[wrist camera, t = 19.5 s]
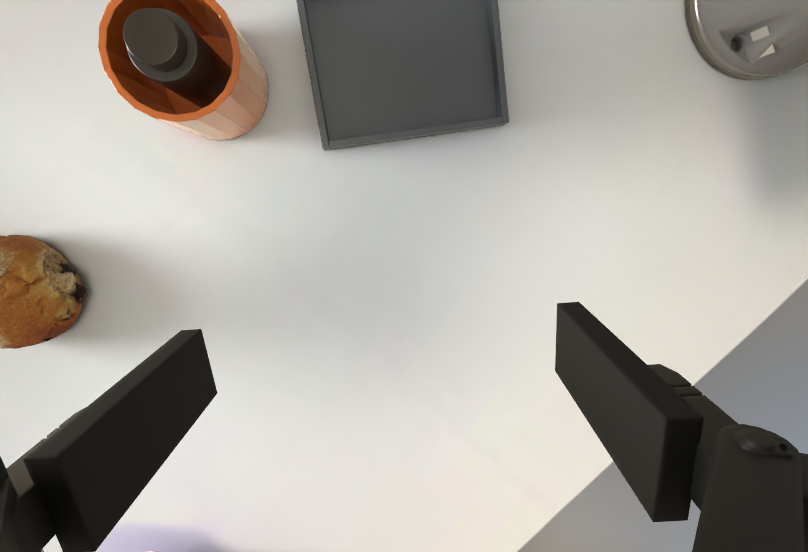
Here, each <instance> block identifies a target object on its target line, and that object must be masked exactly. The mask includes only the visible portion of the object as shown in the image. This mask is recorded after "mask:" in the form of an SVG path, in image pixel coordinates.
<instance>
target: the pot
mask: <svg viewBox="0 0 808 552" xmlns="http://www.w3.org/2000/svg"><path fill="white" fill-rule="evenodd" d="M143 8H163V9H167V10H170V11H172V12H174V13H176V14H178V15H179V16H181V17H182V18H183V19H184V20H185V21H186V22H187V23H188V24H189V25H190V26H191V27H192V28H193V29H194V30H195V31H196V32H197V33H198V34H199V35H200V36H201V37H202V38H203V39H204V40H205V41H206V42H207V43H208V44H209V45H210V47H211V48H212V49H213V50H214V51H215V52H216V53H217V54H218V55H219V56H220V57H221V58H222V59H223V60H224V61H225V62H226V63H227V64H228V65H229V66H230V67H231V68H232V71H231V75H230V78H229V80H228V82H227V84H226V87H225V89H224V91H223V92H222V93H221V94H220V95H219V96H218V97H217V98H216V99H215V101H214V102H213V103H212V104H210V105H208V106H206V107H204V108H200V107H199V106H197V105H195V104H193V103H192V102H190V101H188V100H187V99H185V98H183V97H182V96H180V95H178V94H176V93H175V92H173V91H171V90H170V89H168V88H166V87H164V86H163V85H161V84H159V83H158V82H156V81H154V80H153V79H151V78H149V77H147V76H146V75H144V74H143V73H142V72H141V71H139V70H138V69H137V68H136V66H135V65H134V64H133V62H132V61H131V59H130V57H129V55H128V52H127V48H126V44H125V41H124V37H123V28H124V24H125V21H126V20H127V18H128V17H129V16H130V15H131V14H132V13H133V12H134V11H136V10H139V9H143ZM98 48H99V52H100V56H101V60H102V64H103V67H104V70H105V73H106V74H107V76H108V78H109V79H110V81H111V83H112V84H113V86H114V88H115V89H116V91H117V92H118V93H119V94H120V95H121V96H122V97H123V98H124V99H125V100H126V101H127V102H129V103H130V104H131V105H132V106H133V107H134V108H136V109H137V110H139V111H141V112H143V113H145V114H147V115H149V116H151V117H153V118H155V119H158V120H160V121H163V122H165V123H168V124H170V125H173V126H175V127H178V128H180V129H182V130H185V131H187V132H190V133H192V134H195V135H197V136H200V137H204V138H207V139H213V140H229V139H233V138H236V137H239V136H241V135H243V134H245V133H247V132H248V131H250V130H251V129H252V128H253V127H254V126H255V125H256V124H257V123H258V122H259V120H260V119H261V117H262V115H263V113H264V111H265V108H266V105H267V100H268V83H267V78H266V74H265V71H264V69H263V67H262V65H261V63H260V61H259V59H258V58H257V56H256V54H255V53H254V51H253V50H252V48H251V47H250V46H249V44H248V43H247V41H246V40H245V39H244V37H243V36H242V34H241V33H240V32H239V30H238V29H237V27H236V26H235V25H234V23H233V22H232V20H231V19H230V18H229V16H228V15H227V13H226V12H225V11H224V10H223V8H222V7H221V6H220V5H219V4H218V3H217V2H216V1H215V0H111V1H110V2H109V3H108V5H107V7H106V10H105V12H104V15H103V17H102V20H101V22H100V26H99V44H98Z"/></svg>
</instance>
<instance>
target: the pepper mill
mask: <svg viewBox="0 0 808 552" xmlns="http://www.w3.org/2000/svg"><path fill="white" fill-rule="evenodd" d="M123 37H124V41H125V44H126V48H127V52H128V55H129V57H130V59H131V61H132V62H133V64H134V65H135V66H136V68H137V69H138V70H139V71H141V72H142V73H143V74H144V75H146V76H147V77H149V78H151V79H153V80H154V81H156V82H158V83H159V84H161V85H163V86H164V87H166V88H168V89H170V90H171V91H173V92H175V93H176V94H178V95H180V96H182V97H183V98H185V99H187V100H188V101H190V102H192V103H193V104H195V105H197V106H199V107H200V108H204V107H206V106H208V105H210V104H212V103H213V102H214V101H215V99H216V98H217V97H218V96H219V95H220V94H221V93H222V92H223V91H224V89H225V87H226V84H227V82H228V80H229V78H230V75H231V71H232V68H231V67H230V66H229V65H228V64H227V63H226V62H225V61H224V60H223V59H222V58H221V57H220V56H219V55H218V54H217V53H216V52H215V51H214V50H213V49H212V48H211V47H210V45H209V44H208V43H207V42H206V41H205V40H204V39H203V38H202V37H201V36H200V35H199V34H198V33H197V32H196V31H195V30H194V29H193V28H192V27H191V26H190V25H189V24H188V23H187V22H186V21H185V20H184V19H183V18H182V17H181V16H179V15H178V14H176V13H174V12H172V11H170V10H167V9H163V8H143V9H139V10H136V11H134V12H133V13H132V14H131V15H130V16H129V17H128V18H127V20H126V21H125V24H124V28H123Z"/></svg>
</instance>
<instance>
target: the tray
mask: <svg viewBox="0 0 808 552" xmlns="http://www.w3.org/2000/svg"><path fill="white" fill-rule="evenodd" d="M297 6H298V12H299V17H300V23H301V29H302V34H303V40H304V45H305V51H306V57H307V62H308V68H309V74H310V79H311V85H312V90H313V96H314V102H315V107H316V113H317V119H318V124H319V130H320V135H321V141H322V147H323V149H324V150H332V149H340V148H347V147H354V146H361V145H368V144H375V143H382V142H389V141H397V140H404V139H411V138H418V137H425V136H432V135H439V134H447V133H454V132H461V131H468V130H475V129H482V128H489V127H497V126H503V125H505V124H507V123H508V122H509V118H508V107H507V97H506V86H505V75H504V65H503V54H502V43H501V33H500V22H499V12H498V1H497V0H297Z"/></svg>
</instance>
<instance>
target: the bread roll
mask: <svg viewBox="0 0 808 552" xmlns="http://www.w3.org/2000/svg"><path fill="white" fill-rule="evenodd" d="M86 294H87V290H86V288H85V287H83V285H82V280H81V278H80V277H79V275H78V274H77V272H76V269H74V268H73V267H72V266H71V265H70V264H69V263H68V262H67V260H66V259H65V258H64V257H63V256H62V254H60V253H59V252H57V251H56V250H54V249H52V248H51V247H49V246H48V245H46V243H45V242H42V241H40V240H37V239H35V238H33V237H30V236H22V235H9V236H7V237H5V236H0V348H14V349H15V348H21V347H26V346H31V345H35V344H39V343H42V342H44V341H48V340H50V339H53V338H55V337H57V336H59V335H60V334H62V333H64V332H66V331H67V330H68V329H70V328H71V326H72V325H73V324H74V323H75V322H76V320H77V318H78V316H79V314H80V312H81V307H82V301H83V300H84V299H85V297H86Z"/></svg>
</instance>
